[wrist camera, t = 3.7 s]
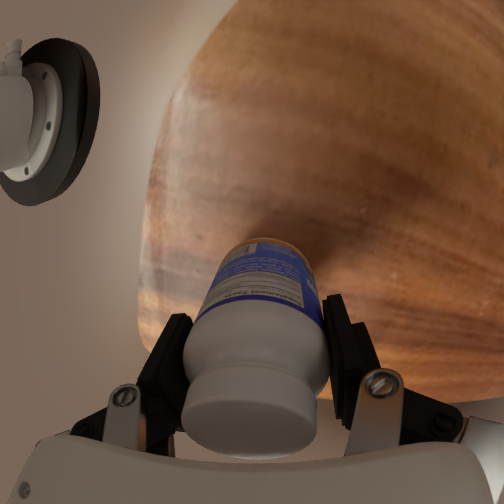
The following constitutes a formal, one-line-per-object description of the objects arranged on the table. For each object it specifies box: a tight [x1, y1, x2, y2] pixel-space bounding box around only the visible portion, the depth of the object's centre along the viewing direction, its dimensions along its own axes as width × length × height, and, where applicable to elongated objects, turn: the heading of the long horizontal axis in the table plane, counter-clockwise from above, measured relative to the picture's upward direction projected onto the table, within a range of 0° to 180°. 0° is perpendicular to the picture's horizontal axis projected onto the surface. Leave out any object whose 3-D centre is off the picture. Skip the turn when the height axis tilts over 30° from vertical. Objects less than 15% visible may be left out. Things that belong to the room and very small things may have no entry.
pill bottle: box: [181, 238, 331, 460], centre depth 11 cm, size 5×5×10 cm
